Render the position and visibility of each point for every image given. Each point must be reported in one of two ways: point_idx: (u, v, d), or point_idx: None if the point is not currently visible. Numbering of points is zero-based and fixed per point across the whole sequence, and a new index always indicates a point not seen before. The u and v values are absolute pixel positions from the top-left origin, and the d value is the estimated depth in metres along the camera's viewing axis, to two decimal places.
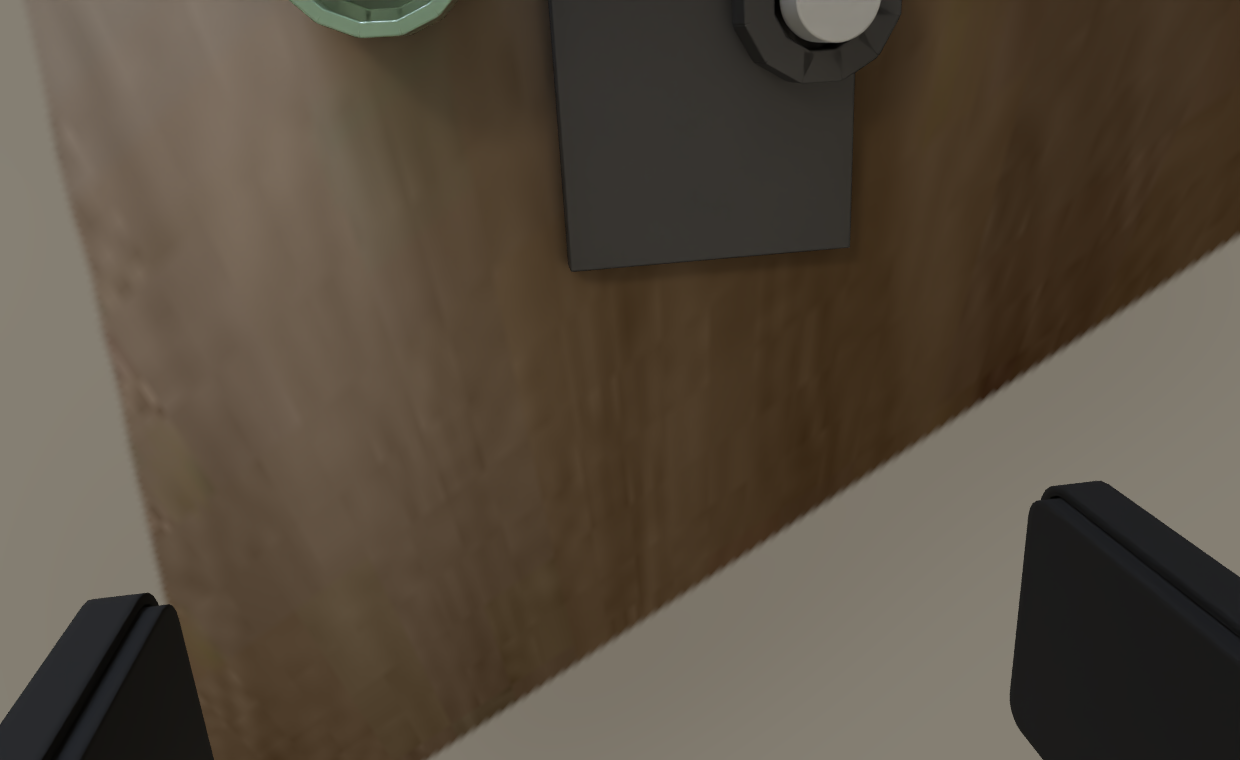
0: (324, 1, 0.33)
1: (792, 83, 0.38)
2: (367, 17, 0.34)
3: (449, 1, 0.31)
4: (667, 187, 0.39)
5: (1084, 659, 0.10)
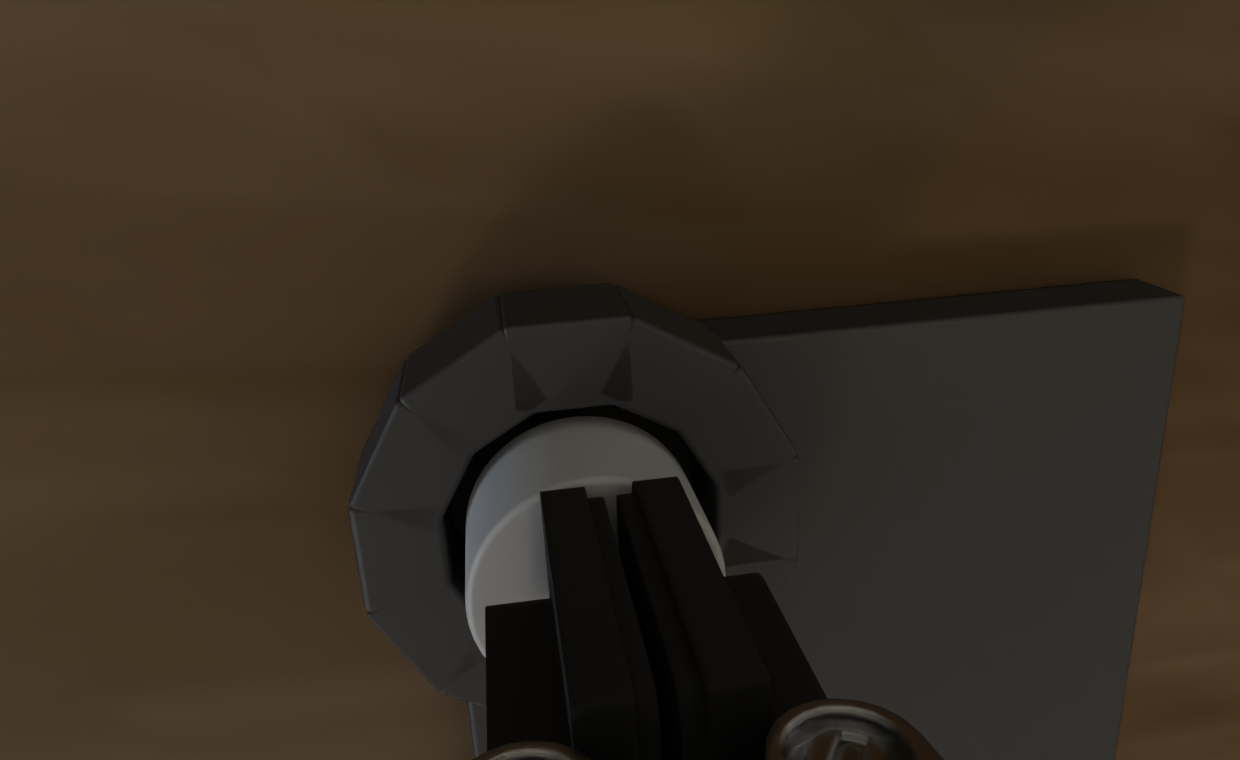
0: None
1: None
2: None
3: None
4: (964, 725, 0.18)
5: None
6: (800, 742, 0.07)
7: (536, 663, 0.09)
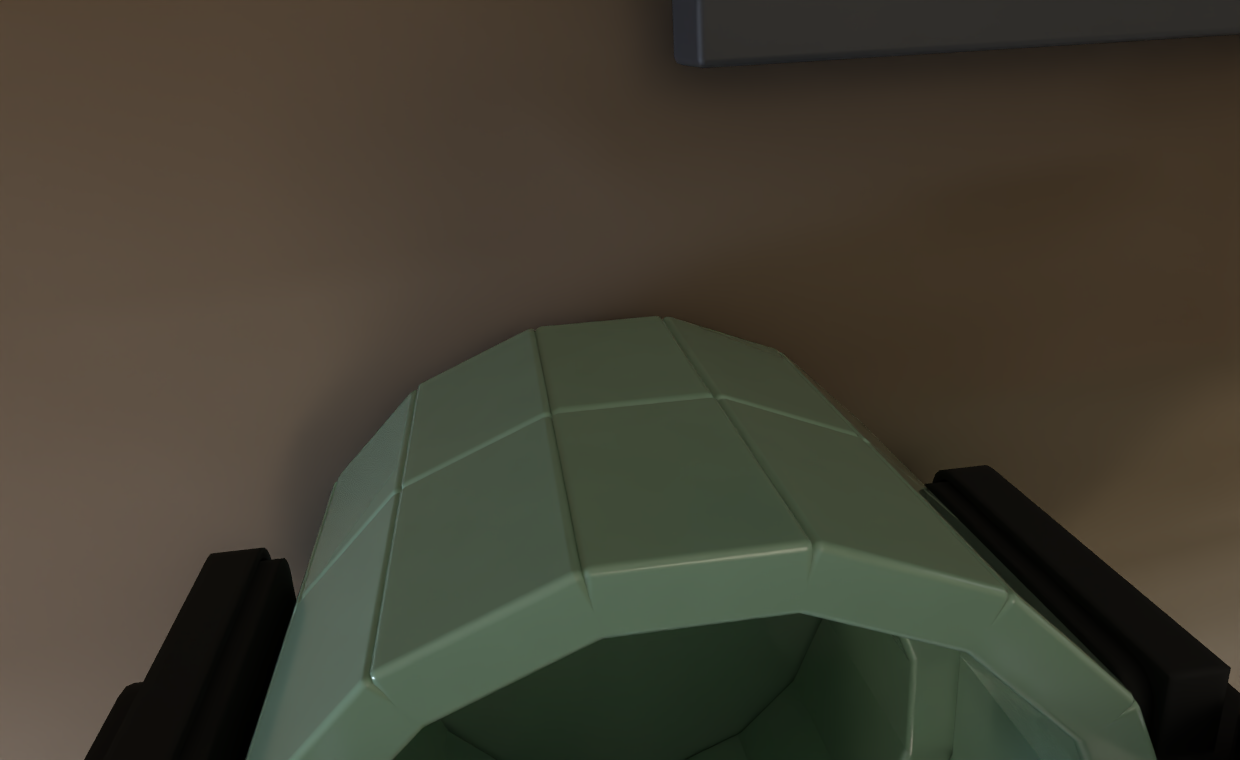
0: None
1: None
2: (934, 754, 0.10)
3: (1084, 658, 0.06)
4: None
5: None
6: None
7: None
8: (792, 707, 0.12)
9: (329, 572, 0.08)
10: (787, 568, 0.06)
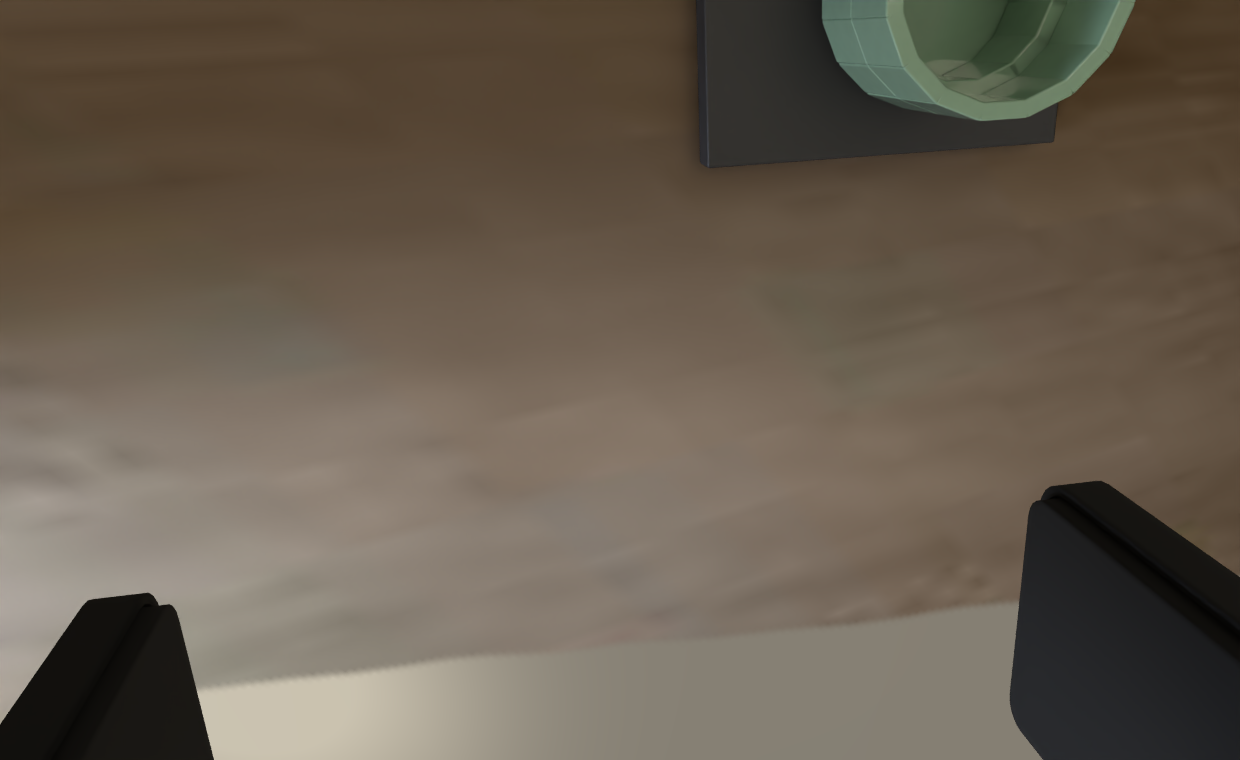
0: (1036, 53, 0.28)
1: None
2: (1060, 2, 0.28)
3: None
4: None
5: (1084, 659, 0.10)
6: None
7: None
8: (995, 39, 0.30)
9: None
10: None
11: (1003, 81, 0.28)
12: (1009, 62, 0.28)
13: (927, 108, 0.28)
